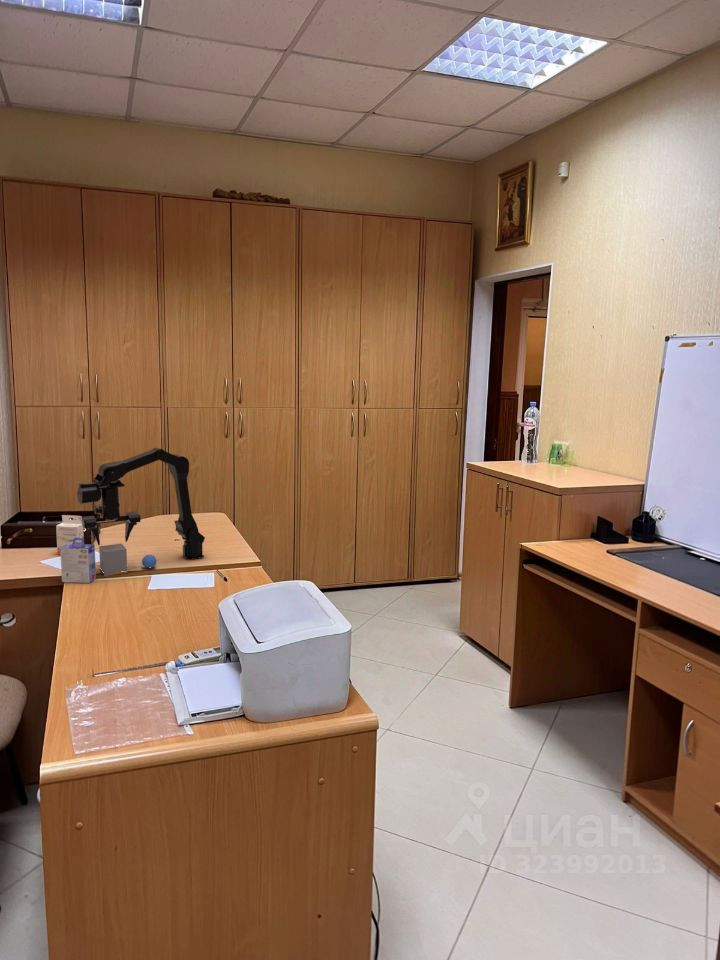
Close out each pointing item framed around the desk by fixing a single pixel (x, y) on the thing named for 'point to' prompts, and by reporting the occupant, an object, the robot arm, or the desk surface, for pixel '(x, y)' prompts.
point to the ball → (149, 561)
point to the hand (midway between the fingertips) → (112, 543)
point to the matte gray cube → (113, 558)
